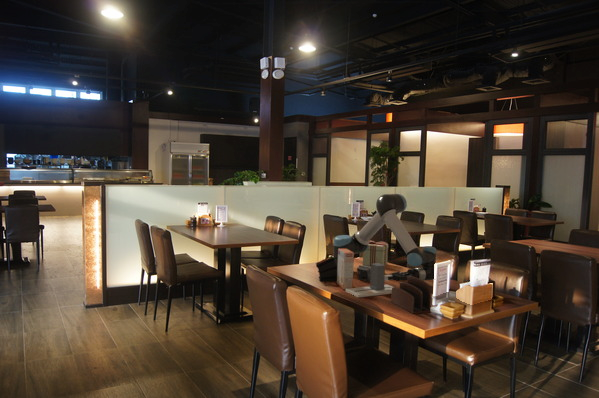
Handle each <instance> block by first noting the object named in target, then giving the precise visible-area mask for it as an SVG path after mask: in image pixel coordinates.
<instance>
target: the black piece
mask: <svg viewBox="0 0 599 398" xmlns="http://www.w3.org/2000/svg"><path fill="white" fill-rule="evenodd" d="M315 267H316V268H317V269H318V271H317V272H318V275H319V276H318V280H319V282H323V283H324V282H325V283H326V282H327V283H328V282H336V283H337V266H336V263H335V259H334V258H333V255H330V256H328V257H326V258H323V259H322V260H320V261H318V262H316V263H315Z"/></svg>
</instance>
